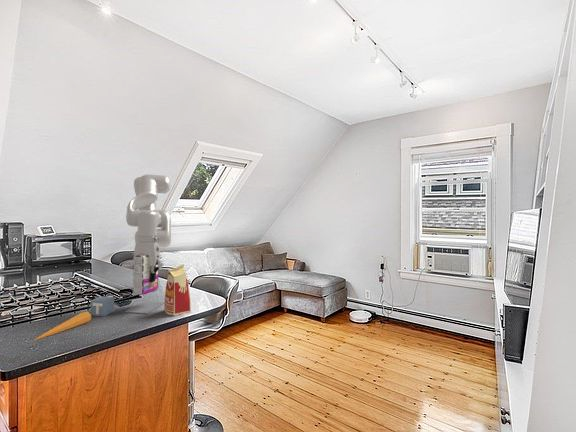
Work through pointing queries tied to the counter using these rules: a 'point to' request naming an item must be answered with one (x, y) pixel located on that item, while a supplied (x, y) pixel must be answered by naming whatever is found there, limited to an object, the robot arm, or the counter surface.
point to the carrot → (69, 324)
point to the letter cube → (102, 306)
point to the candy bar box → (143, 276)
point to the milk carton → (177, 292)
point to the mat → (144, 307)
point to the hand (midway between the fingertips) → (146, 281)
